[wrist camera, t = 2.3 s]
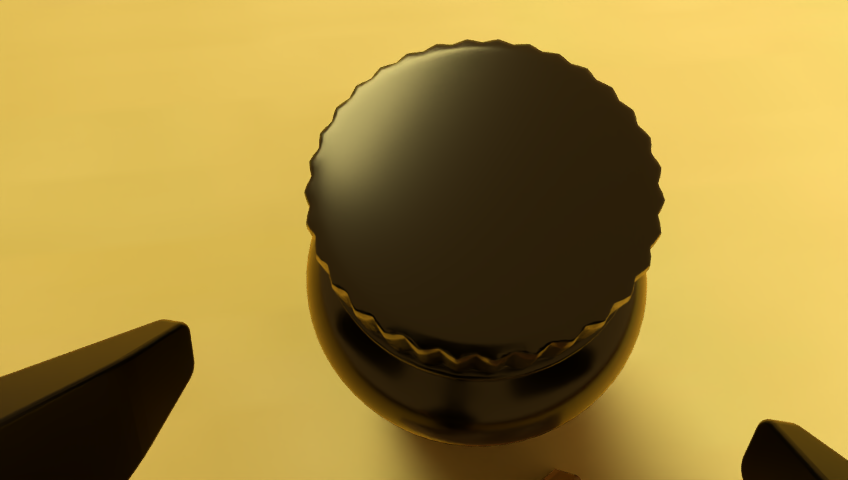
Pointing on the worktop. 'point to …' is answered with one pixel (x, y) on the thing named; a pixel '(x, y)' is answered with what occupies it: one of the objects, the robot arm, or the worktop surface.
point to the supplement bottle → (481, 241)
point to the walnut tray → (561, 476)
